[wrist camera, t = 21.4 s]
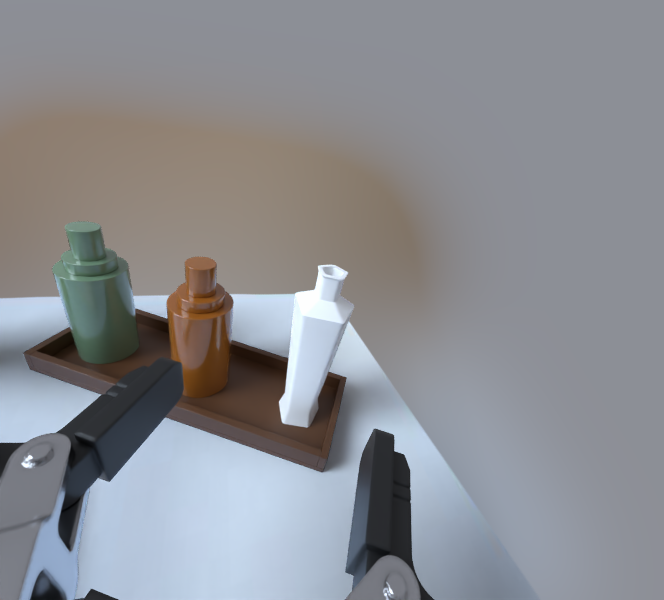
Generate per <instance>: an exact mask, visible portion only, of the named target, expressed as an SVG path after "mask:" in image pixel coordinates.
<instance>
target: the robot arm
mask: <svg viewBox="0 0 664 600" xmlns="http://www.w3.org/2000/svg"><path fill="white" fill-rule="evenodd" d="M183 390H184V382H183V368H182V363H180V362H178V361H175V360H172V359H169V358H166V357H160V358H158V359H157V360H156V361H155V362H154V363H153V364H151V365H150V366H149V367H147V366H144V365H143V366H141V367H139V368H137V369H135V370H133V371H131V372H129V373H127V374H126V375H125V376H124V377H123V378H121V379H120V380H119V381H118V382H117V383H116V385H113V386H112V387H111V388H110V389H108V390H107V391H106V393H105V394H103V395H101V396H100V397H99V398H98V399H97V400H95V401H94V402H93V403H92V404H91V405H90V406H88V407H87V408H86V409H85V410H84V411H82V412H81V413H80V414H79V415H78V416H77V417H75V418H74V419H73V420H72V421H71V422H70V423H68V424H67V425H66V426H65V427H63V428H62V429H61V430H59V431H58V432H56V433H50V434H45V435H41V436H38V437H36V438H33V439H31V440H29V441H28V442H26V443H0V600H118V599H115V598H113V597H110V596H108V595H106V594H103V593H101V592H98V591H96V590H93V589H91V590H90V591H89V593H88V594H87V596H86V597H85V598H80V599H75V596H76V590H77V584H78V549H79V544H80V539H81V533H82V528H83V523H84V518H85V512H86V507H87V502H88V497H89V490H90V488H89V487H90V486H91V485H92V484H93V483H94V482H95V481H96V480H97V478H100V479H103V480H105V481H108V482H110V481H111V480H112V478H113V477H114V476H115V475H116V474H117V473H118V471H119V470H120V469H121V468H122V467H123V466H124V464H125V463H126V462H127V461H128V460H129V459H130V457H131V456H132V455H133V454H134V453H135V452H136V450H137V449H138V448H139V447H140V446H141V445H142V443H143V442H144V441H145V440H146V439H147V438H148V436H149V435H150V434H151V433H152V432H153V431H154V429H155V428H156V427H157V426H158V425H159V424H160V422H161V421H162V420H163V419H164V418H165V417H166V415H167V414H168V413H169V412H170V411H171V410H172V408H173V407H174V406H175V405H176V404H177V403H178V401H179V400H180V398H181V396H182V394H183ZM410 500H411V492H410V469H409V466H408V463H407V461H406V458H405V455H404V454H401V453H398V452H395V451H394V435H393V434H390V433H387V432H384V431H381V430H378V429H374V430H373V432H372V434H371V436H370V438H369V440H368V442H367V444H366V446H365V449H364V451H363V454H362V457H361V461H360V467H359V474H358V481H357V489H356V496H355V504H354V511H353V518H352V526H351V533H350V541H349V548H348V556H347V563H346V571H345V572H346V573H348V574H351V575H354V579H353V587H352V592H351V593H350V594H349V595H348V597H347V598H346V599H345V600H434V599H433V598H432V597H431V596H430V595H429V594H428V593H427V592H426V591H425V589H424V588H423V586H422V585H421V583H420V581H419V579H418V577H417V575H416V573H415V570H414V566H413V561H412V541H411V503H410Z"/></svg>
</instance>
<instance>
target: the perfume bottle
mask: <svg viewBox="0 0 664 600" xmlns="http://www.w3.org/2000/svg"><path fill="white" fill-rule="evenodd" d="M318 269H319V274H318V278H317V283H316V287H315V290H309V291H303V292H297V293H295V302H294V311H293V321H292V330H291V339H290V349H289V358H288V368H287V377H286V387H285V393H284V395H283V396H282V398H281V399H280V401H279V407H280V413H281V420H282V423H284V424H288V425H294V426H300V427H306V428H308V427H310V425H311V423H312V421H313V419H314V417H315V415H316V413H317V411H318V397H319V394H320V392H321V389H322V387H323V384H324V382H325V379H326V377H327V374H328V372H329V369H330V367H331V364H332V361H333V359H334V356H335V354H336V351H337V349H338V346H339V344H340V341H341V339H342V336H343V334H344V331H345V329H346V326H347V324H348V321H349V319H350V316H351V313H352V311H353V309H354V304H352V303H351V302H349V301H348V300H346V299H345V298H343V297H342V296H340V293H341V290H342V286H343V282H344V279H345V277H346V276H347V275H348V272H346V271H345V270H343V269H341V268H339V267H337V266H335V265H320V266H318Z"/></svg>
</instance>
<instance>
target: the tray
mask: <svg viewBox="0 0 664 600" xmlns="http://www.w3.org/2000/svg"><path fill="white" fill-rule="evenodd" d="M135 312H136V318H137V325H138V331H139V338H140V345H139V347H138V349H137V350H136V351H135V352H134V353H133V354H132V355H130V356H128V357H127V358H125V359H122V360H120V361H117V362H113V363H108V364H93V363H88V362H86V361H84V360H82V359H81V358H80V357H79V356H78V353H77V349H76V346H75V343H74V340H73V336H72V333H71V330H70V327H68V328H67V329H65V330H63V331H61V332H59V333H58V334H56V335H54V336H52V337H51V338H49V339H47V340H45V341H43V342H42V343H40V344H38V345H36V346H34V347H33V348H31V349H29V350H27V351H25V352H24V353H23V354H24V356H25V359H26V361H27V363H28V365H29V368H30V369H31V370H34V371H36V372H39V373H42V374H45V375H48V376H51V377H53V378H56V379H59V380H62V381H65V382H68V383H70V384H73V385H76V386H79V387H82V388H85V389H87V390H90V391H93V392H96V393H99V394H102V395H103V394H105V393H106V391H107V390H108V389H110V388H111V387H112V386H113V385H116V383H117V382H118V381H119V380H120V379H121V378H123V377H124V376H125V375H126V374H127V373H129V372H131V371H133V370H135V369H137V368H139V367H141V366H143V365H144V366H147V367H149V366H150V365H151V364H153V363H154V362H155V361H156V360H157V359H158V358H160V357H166V358H169V359H171V350H170V338H169V327H168V319H166V318H163V317H160V316H157V315H154V314H151V313H148V312H145V311H142V310H139V309H135ZM287 368H288V358H285V357H282V356H279V355H276V354H273V353H270V352H267V351H264V350H261V349H258V348H255V347H252V346H249V345H245V344H242V343H239V342H236V341H233V340H231V356H230V373H229V380H228V383H227V384H226V386H225V387H224V388H223V389H222V390H220V391H219V392H218V393H216V394H214V395H211V396H208V397H204V398H191V397H187V396H184V395H182V396H181V398H180V400H179V401H178V403H177V404H176V405H175V406H174V407H173V408H172V410H171V411H170V412H169V413H168V414H167V415H166V417H167V418H169V419H172V420H175V421H178V422H181V423H184V424H186V425H189V426H192V427H195V428H198V429H201V430H203V431H206V432H209V433H212V434H215V435H218V436H220V437H223V438H226V439H229V440H232V441H235V442H237V443H240V444H243V445H246V446H249V447H251V448H254V449H257V450H260V451H263V452H266V453H268V454H271V455H274V456H277V457H280V458H283V459H285V460H288V461H291V462H294V463H297V464H300V465H302V466H305V467H308V468H311V469H314V470H317V471H319V472H323V469H324V467H325V464H326V462H327V459H328V455H329V450H330V446H331V442H332V438H333V433H334V429H335V425H336V421H337V416H338V412H339V408H340V404H341V399H342V395H343V391H344V387H345V382H346V377H343V376H340V375H337V374H334V373H331V372H328V374H327V377H326V379H325V382H324V384H323V387H322V389H321V392H320V394H319V397H318V411H317V413H316V415H315V417H314V419H313V421H312V423H311V425H310V427H308V428H306V427H300V426H294V425H288V424H284V423H282V420H281V413H280V407H279V401H280V399H281V398H282V396H283V395H284V393H285V387H286V377H287Z"/></svg>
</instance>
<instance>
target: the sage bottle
mask: <svg viewBox="0 0 664 600" xmlns="http://www.w3.org/2000/svg"><path fill="white" fill-rule="evenodd" d="M65 230H66V234H67V238H68V242H69V246H70V249H71V250H68V251H66V252H64V253H63V254H62V256H61V261H59V262H57V263H56V264H55V265H54V266H53V268H52V271H53V274H54V278H55V281H56V284H57V288H58V291H59V294H60V297H61V301H62V304H63V307H64V310H65V314H66V317H67V320H68V323H69V327H70V330H71V333H72V336H73V340H74V343H75V346H76V349H77V353H78V356H79V357H80V358H81V359H82V360H84V361H86V362H88V363H93V364H108V363H113V362H117V361H120V360H122V359H125V358H127V357H128V356H130V355H132V354H133V353H134V352H135V351H136V350H137V349H138V347H139V345H140V338H139V331H138V325H137V318H136V312H135V305H134V299H133V293H132V286H131V279H130V273H129V266H128V263H127V262H126V261H125V260H124V259H122V258H120V257H117V254H116V253H115V252H114V251H113V250H111V249H108V248H105V244H104V239H103V234H102V229H101V226H100V225H99V224H96V223H93V222H73V223H69V224H67V225H65Z"/></svg>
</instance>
